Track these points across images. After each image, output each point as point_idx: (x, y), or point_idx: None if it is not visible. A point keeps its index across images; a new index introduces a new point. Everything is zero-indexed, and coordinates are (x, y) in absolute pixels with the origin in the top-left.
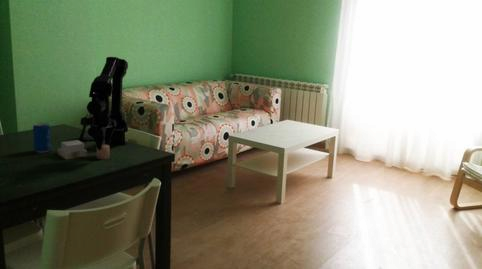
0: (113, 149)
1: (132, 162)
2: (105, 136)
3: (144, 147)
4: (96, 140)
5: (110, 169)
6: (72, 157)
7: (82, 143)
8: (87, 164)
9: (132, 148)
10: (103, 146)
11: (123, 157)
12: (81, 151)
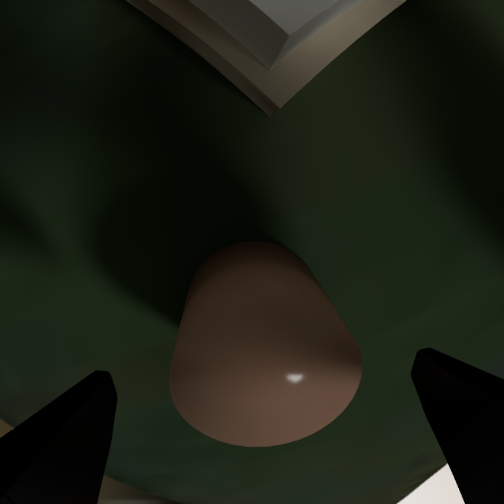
0: (489, 287)
1: (190, 484)
2: (480, 417)
3: None
4: (3, 471)
5: (20, 413)
6: (140, 8)
7: (289, 5)
8: (12, 246)
9: None
10: (249, 400)
11: None
12: (216, 50)
